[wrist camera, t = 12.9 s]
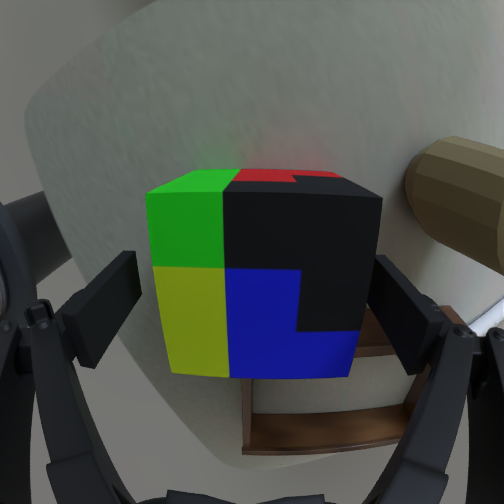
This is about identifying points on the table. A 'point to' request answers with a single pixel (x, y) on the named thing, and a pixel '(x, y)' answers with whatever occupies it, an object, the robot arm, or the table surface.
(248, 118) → the table surface
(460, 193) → the squeeze bottle
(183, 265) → the puzzle toy
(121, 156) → the table surface
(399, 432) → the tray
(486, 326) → the marker
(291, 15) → the table surface
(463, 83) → the table surface
